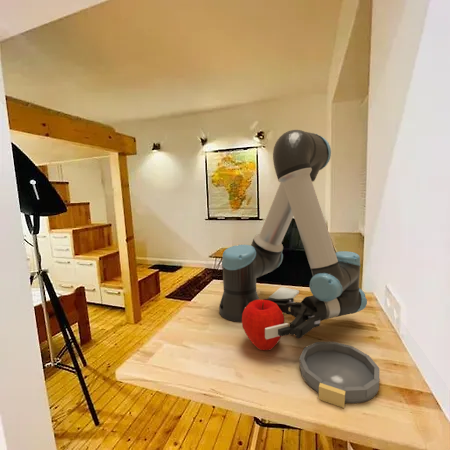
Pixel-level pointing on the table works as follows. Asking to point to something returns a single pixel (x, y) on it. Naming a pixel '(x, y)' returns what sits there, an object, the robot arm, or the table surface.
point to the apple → (261, 322)
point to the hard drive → (284, 293)
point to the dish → (339, 373)
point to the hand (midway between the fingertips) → (254, 322)
